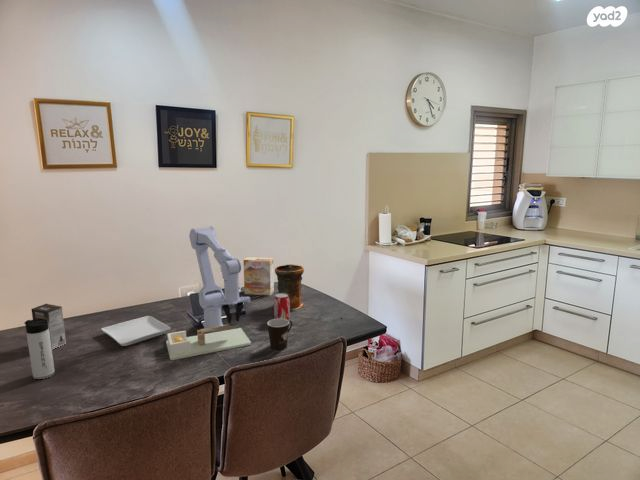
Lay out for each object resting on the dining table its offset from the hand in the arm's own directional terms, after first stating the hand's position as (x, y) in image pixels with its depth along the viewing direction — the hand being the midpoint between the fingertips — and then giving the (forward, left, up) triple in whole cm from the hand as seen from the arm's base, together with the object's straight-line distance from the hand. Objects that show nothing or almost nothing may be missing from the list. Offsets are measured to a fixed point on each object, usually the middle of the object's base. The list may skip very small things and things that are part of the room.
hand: (233, 321), depth 169 cm
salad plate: (-22, -36, -8) cm, 43 cm away
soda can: (-11, +25, -8) cm, 28 cm away
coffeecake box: (-53, +27, -8) cm, 60 cm away
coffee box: (-25, -67, -8) cm, 72 cm away
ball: (0, -22, -5) cm, 22 cm away
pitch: (0, -10, -8) cm, 13 cm away
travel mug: (+1, -66, -8) cm, 67 cm away
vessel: (-27, +35, -8) cm, 45 cm away
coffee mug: (+14, +16, -8) cm, 23 cm away
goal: (0, -22, -7) cm, 23 cm away
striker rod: (0, -6, -7) cm, 9 cm away
